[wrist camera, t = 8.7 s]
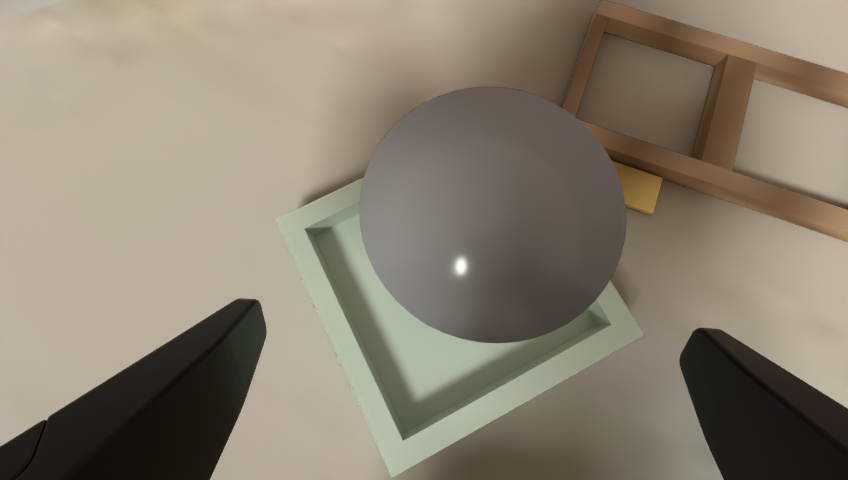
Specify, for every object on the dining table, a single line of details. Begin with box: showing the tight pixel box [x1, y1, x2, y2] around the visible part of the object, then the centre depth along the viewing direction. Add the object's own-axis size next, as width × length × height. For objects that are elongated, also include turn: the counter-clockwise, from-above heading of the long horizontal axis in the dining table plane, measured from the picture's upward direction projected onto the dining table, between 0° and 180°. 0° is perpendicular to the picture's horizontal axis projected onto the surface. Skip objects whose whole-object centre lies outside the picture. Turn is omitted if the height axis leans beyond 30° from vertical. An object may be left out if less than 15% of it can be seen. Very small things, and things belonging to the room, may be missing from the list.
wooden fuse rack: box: [561, 0, 848, 242], centre depth 20 cm, size 24×11×1 cm, turn 69°
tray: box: [276, 177, 644, 478], centre depth 18 cm, size 12×12×2 cm
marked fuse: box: [359, 87, 626, 344], centre depth 13 cm, size 5×5×12 cm
